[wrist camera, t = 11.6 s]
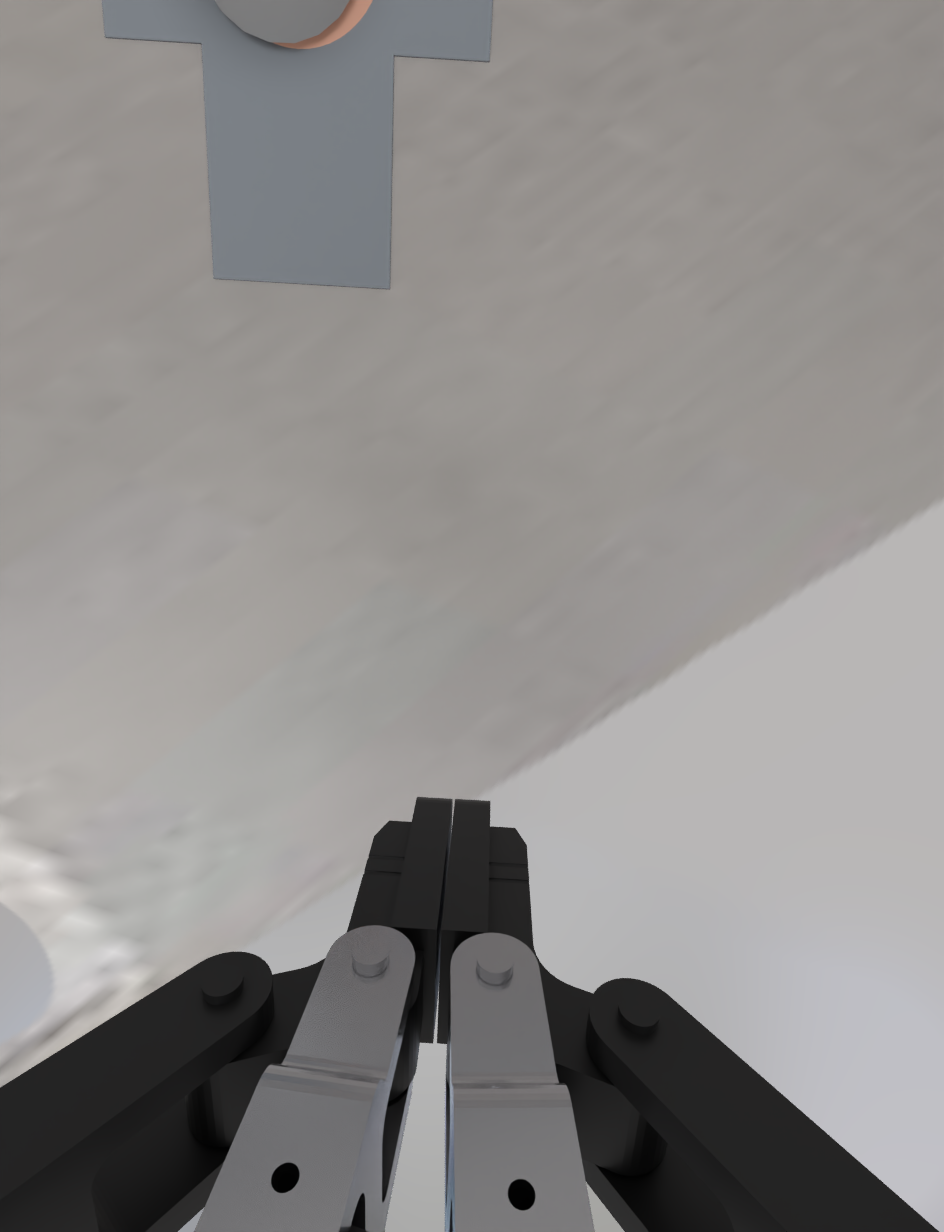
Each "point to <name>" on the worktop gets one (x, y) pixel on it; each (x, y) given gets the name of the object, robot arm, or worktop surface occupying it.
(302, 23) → the can
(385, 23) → the t mat
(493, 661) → the worktop surface
